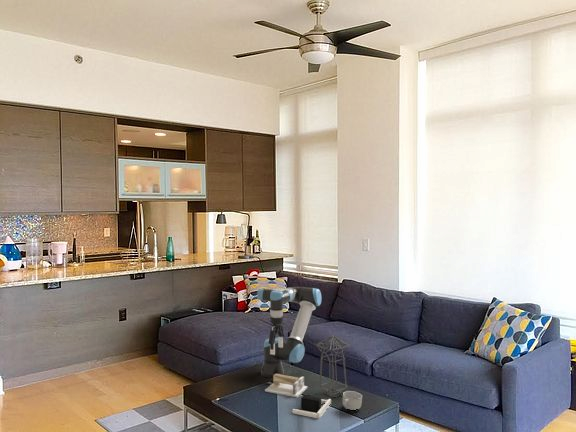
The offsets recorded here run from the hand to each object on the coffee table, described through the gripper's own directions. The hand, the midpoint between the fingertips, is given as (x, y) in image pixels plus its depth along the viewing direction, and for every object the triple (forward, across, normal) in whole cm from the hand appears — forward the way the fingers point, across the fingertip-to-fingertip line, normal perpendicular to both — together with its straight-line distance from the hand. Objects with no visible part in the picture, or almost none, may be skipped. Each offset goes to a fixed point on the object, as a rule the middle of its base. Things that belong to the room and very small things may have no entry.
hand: (276, 350), depth 295 cm
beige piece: (+22, +1, +7) cm, 23 cm away
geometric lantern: (+23, -3, +34) cm, 41 cm away
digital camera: (+23, +22, +29) cm, 43 cm away
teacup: (+23, +14, +49) cm, 56 cm away
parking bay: (+22, +21, +28) cm, 42 cm away
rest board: (+23, +1, +7) cm, 24 cm away
